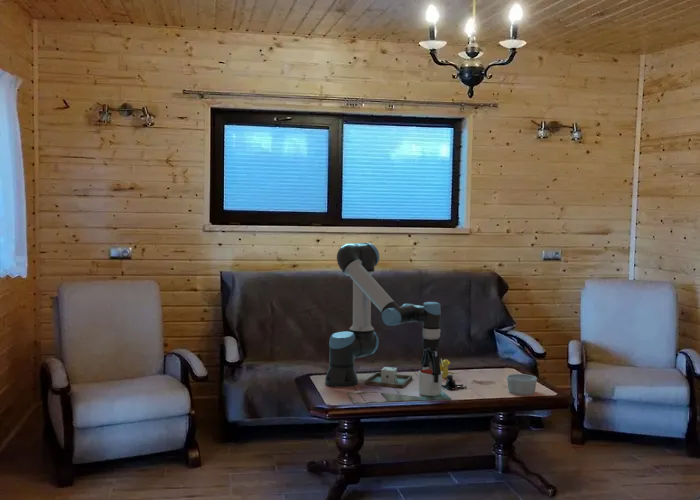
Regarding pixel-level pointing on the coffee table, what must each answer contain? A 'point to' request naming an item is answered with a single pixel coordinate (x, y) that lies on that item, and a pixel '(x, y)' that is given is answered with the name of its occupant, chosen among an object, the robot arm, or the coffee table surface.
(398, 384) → the dice tray
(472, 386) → the coffee table surface
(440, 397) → the track
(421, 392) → the cup
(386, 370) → the die
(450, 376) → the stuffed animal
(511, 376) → the ramekin
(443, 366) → the figurine
